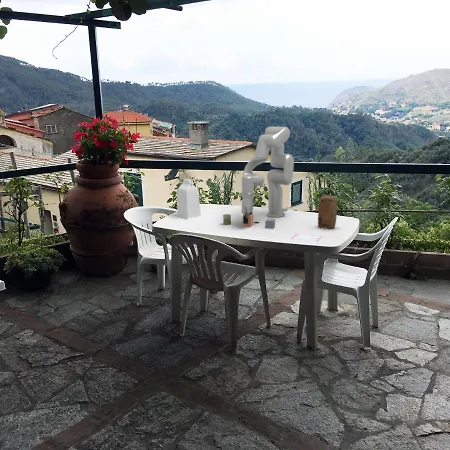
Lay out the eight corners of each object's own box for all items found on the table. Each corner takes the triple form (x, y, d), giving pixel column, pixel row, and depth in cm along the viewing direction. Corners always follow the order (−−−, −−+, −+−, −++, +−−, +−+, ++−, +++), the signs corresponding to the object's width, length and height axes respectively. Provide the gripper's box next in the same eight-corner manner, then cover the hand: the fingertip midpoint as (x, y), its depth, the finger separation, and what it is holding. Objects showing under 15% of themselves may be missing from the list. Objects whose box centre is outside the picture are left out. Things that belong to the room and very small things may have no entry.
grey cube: (267, 226, 286) (267, 218, 285) (275, 226, 285) (275, 219, 283) (265, 228, 282) (265, 220, 280) (273, 228, 280) (273, 221, 279)
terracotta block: (245, 224, 291) (245, 213, 290) (253, 224, 290) (253, 214, 288) (243, 226, 287) (243, 215, 285) (250, 227, 285) (250, 216, 283)
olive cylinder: (228, 222, 297) (227, 213, 295) (232, 224, 293) (232, 215, 291) (221, 224, 294) (221, 215, 292) (226, 225, 290) (226, 216, 288)
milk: (177, 216, 317) (175, 179, 310) (190, 213, 325) (188, 177, 318) (187, 219, 309) (185, 181, 302) (200, 215, 316) (199, 179, 309)
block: (337, 227, 280) (338, 195, 274) (333, 230, 273) (334, 197, 268) (320, 224, 285) (321, 193, 280) (316, 227, 279) (316, 196, 274)
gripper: (246, 192, 292) (246, 218, 296) (237, 197, 276) (237, 224, 281) (257, 193, 289) (257, 219, 294) (249, 198, 274) (249, 225, 278)
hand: (247, 221), depth 287 cm, fingers open, 9 cm apart
